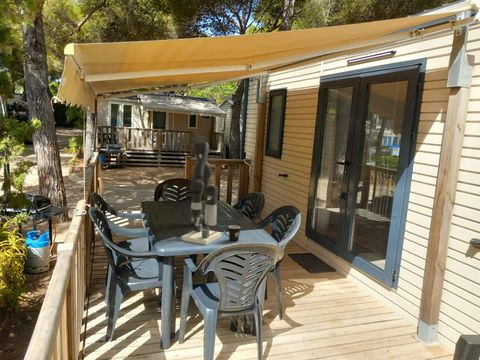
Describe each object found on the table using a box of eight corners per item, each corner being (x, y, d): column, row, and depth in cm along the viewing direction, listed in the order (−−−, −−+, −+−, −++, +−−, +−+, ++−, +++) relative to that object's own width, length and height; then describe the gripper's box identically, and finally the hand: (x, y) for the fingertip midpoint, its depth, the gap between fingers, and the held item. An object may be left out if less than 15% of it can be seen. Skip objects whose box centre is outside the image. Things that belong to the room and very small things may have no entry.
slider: (204, 235, 273) (204, 229, 272) (209, 236, 271) (209, 229, 270) (201, 237, 269) (201, 230, 269) (206, 237, 268) (206, 231, 267)
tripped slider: (197, 229, 288) (197, 223, 287) (202, 230, 286) (202, 223, 286) (195, 230, 285) (195, 224, 284) (199, 231, 283) (200, 225, 282)
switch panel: (198, 232, 293) (198, 228, 293) (221, 236, 286) (221, 232, 285) (181, 240, 271) (181, 235, 271) (206, 244, 264) (206, 240, 263)
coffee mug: (238, 238, 282) (239, 225, 280) (240, 242, 273) (241, 228, 272) (223, 238, 280) (223, 225, 279) (224, 242, 272) (225, 228, 270)
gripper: (196, 205, 286) (195, 228, 289) (187, 209, 274) (186, 232, 277) (205, 207, 283) (204, 229, 286) (196, 210, 271) (195, 233, 274)
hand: (195, 230), depth 281 cm, fingers closed
